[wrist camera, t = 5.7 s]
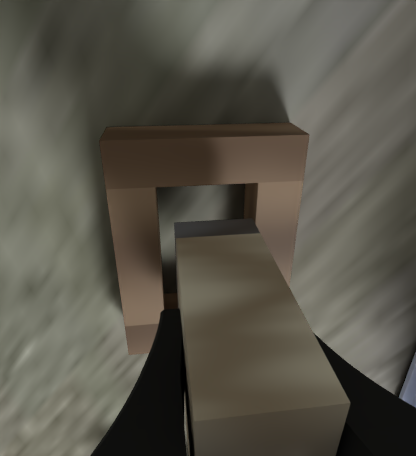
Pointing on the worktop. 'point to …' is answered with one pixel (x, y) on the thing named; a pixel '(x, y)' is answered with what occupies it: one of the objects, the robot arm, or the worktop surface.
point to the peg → (249, 351)
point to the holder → (193, 176)
